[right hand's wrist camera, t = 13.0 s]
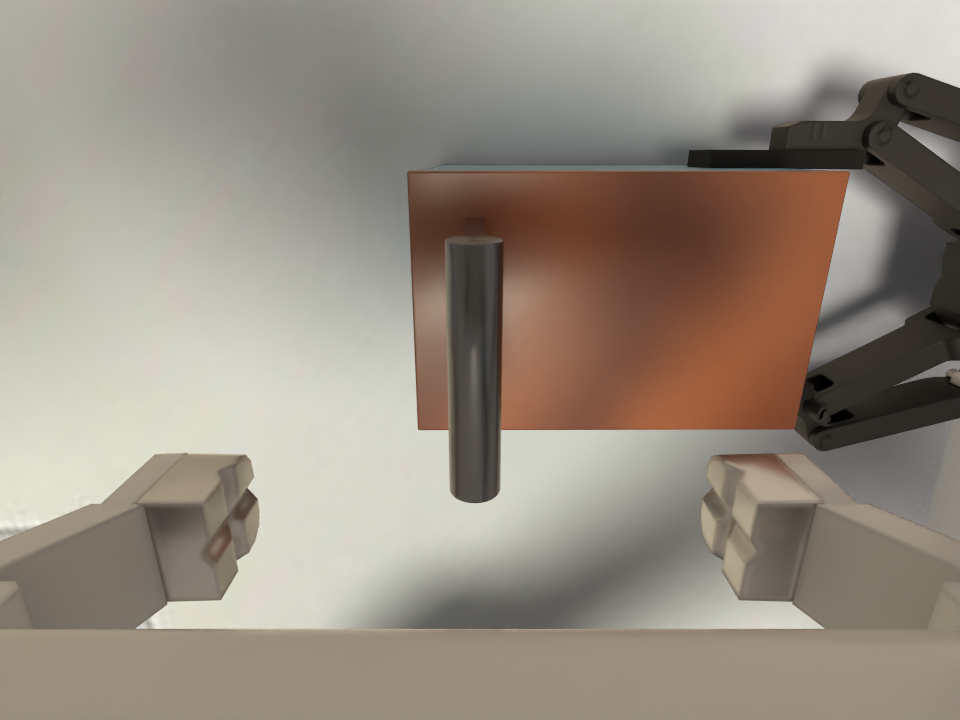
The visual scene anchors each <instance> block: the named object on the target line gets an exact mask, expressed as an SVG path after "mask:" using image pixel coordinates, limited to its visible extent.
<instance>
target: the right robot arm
mask: <svg viewBox="0 0 960 720" xmlns="http://www.w3.org/2000/svg"><path fill="white" fill-rule="evenodd" d="M253 478H254V474H253V469H252V464H251V460H250V459H249V458H248V457H247V456H246V455H238V454H188V453H168V454H156V455H154V456H153V457H152V458H151V459H150V460H148V461H147V462H146V463H145V464H144V465H143V466H142V467H141V468H140V469H139V470H138V471H136V472H135V473H134V474H133V475H132V476H131V477H130V478H129V479H128V480H127V481H125V482H124V483H123V484H122V485H121V486H120V487H119V488H118V489H117V490H116V491H114V492H113V493H112V494H111V495H110V496H109V497H108V498H107V499H106V500H105V501H104V502H102V503H101V504H90V505H88V506H85V507H83V508H80V509H78V510H76V511H73V512H71V513H68V514H66V515H63V516H61V517H59V518H56V519H54V520H51V521H49V522H46V523H44V524H41V525H39V526H37V527H34V528H32V529H29V530H27V531H24V532H22V533H20V534H17V535H15V536H12V537H10V538H7V539H5V540H2V541H0V720H960V541H957V540H955V539H952V538H950V537H948V536H945V535H943V534H940V533H938V532H935V531H933V530H930V529H928V528H926V527H923V526H921V525H918V524H916V523H914V522H911V521H909V520H906V519H904V518H901V517H899V516H897V515H894V514H892V513H889V512H887V511H884V510H882V509H880V508H877V507H875V506H872V505H870V504H859V503H858V502H857V501H855V500H854V499H853V498H852V497H851V496H850V495H849V494H848V493H847V492H846V491H845V490H843V489H842V488H841V487H840V486H839V485H838V484H837V483H836V482H835V481H834V480H832V479H831V478H830V477H829V476H828V475H827V474H826V473H825V472H824V471H823V470H822V469H820V468H819V467H818V466H817V465H816V464H815V463H814V462H813V461H812V460H811V459H810V458H808V457H807V456H806V455H803V454H800V453H783V454H737V455H715V456H712V457H711V459H710V461H709V464H708V468H707V474H706V478H707V479H708V481H709V483H710V484H711V486H712V487H713V488H712V489H711V491H710V492H709V493H708V494H707V495H706V496H705V497H704V498H703V499H702V507H701V515H700V516H701V526H702V533H703V536H704V539H705V542H706V544H707V546H708V548H709V549H710V551H711V553H713V554H714V555H716V556H717V557H719V558H721V559H722V560H724V561H723V567H722V572H723V574H724V575H725V577H726V579H727V580H728V582H729V584H730V586H731V587H732V589H733V591H734V592H735V594H736V596H737V597H738V599H739V600H752V601H788V602H793V605H795V606H796V607H797V608H799V609H800V610H801V611H803V612H804V613H805V614H806V615H808V616H809V617H810V618H812V619H813V620H814V621H816V622H817V623H818V624H820V625H821V626H822V627H824V628H825V629H135V628H136V627H138V626H139V625H140V624H142V623H143V622H144V621H146V620H147V619H148V618H150V617H151V616H152V615H154V614H155V613H156V612H158V611H159V610H160V609H162V608H163V607H164V606H166V605H167V602H172V601H207V600H221V599H222V598H223V596H224V594H225V592H226V591H227V589H228V587H229V586H230V584H231V582H232V581H233V579H234V577H235V575H236V574H237V572H238V567H237V561H236V560H238V559H239V558H241V557H243V556H244V555H246V554H247V553H249V551H250V549H251V548H252V546H253V544H254V542H255V539H256V535H257V531H258V527H259V505H258V499H257V498H256V497H255V496H254V495H253V494H252V493H251V492H250V491H249V489H248V488H247V487H248V486H249V484H250V483H251V481H252V479H253Z"/></svg>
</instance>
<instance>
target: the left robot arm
mask: <svg viewBox="0 0 960 720" xmlns="http://www.w3.org/2000/svg"><path fill="white" fill-rule="evenodd" d="M858 102H859V105H858V107H857V109H856V111H855V112H854V114H853V115H852V116H851V117H850V118H849V119H847V120H845V121H798V122H788V123H783V124H780V125H778V126H775V127H773V128H772V134H771V140H770V146H769V150H689V157H688V165H687V167H698V168H787V169H863V168H865V169H866V170H867V171H869V172H870V173H872V174H873V175H874V176H876V177H877V178H879V179H880V180H881V181H883V182H884V183H886V184H887V185H888V186H890V187H891V188H893V189H894V190H895V191H897V192H898V193H900V194H901V195H902V196H904V197H905V198H907V199H908V200H909V201H911V202H912V203H914V204H915V205H916V206H918V207H919V208H921V209H922V210H923V211H925V212H926V213H928V214H929V215H930V216H932V217H933V218H934V219H933V222H934V223H935V224H937V225H938V226H940V227H941V228H942V229H944V230H945V231H947V232H948V233H949V234H951V235H952V236H954V237H955V238H956V239H955V240H954V242H953V243H947V245H946V248H945V252H944V255H943V260H942V276H941V278H940V279H939V281H938V283H937V285H936V287H935V288H934V290H933V294H932V297H931V301H930V304H929V305H931V307H929V308H927V309H925V310H923V311H921V312H919V313H917V314H915V315H913V316H911V317H909V318H907V319H906V320H905V325H904V326H903V327H901V328H899V329H897V330H895V331H893V332H890V333H888V334H886V335H884V336H882V337H880V338H878V339H876V340H874V341H872V342H870V343H868V344H866V345H864V346H862V347H860V348H858V349H856V350H853V351H851V352H849V353H847V354H845V355H843V356H841V357H839V358H837V359H835V360H833V361H831V362H829V363H827V364H825V365H823V366H821V367H819V368H816V369H814V370H812V371H810V372H808V373H807V374H806V378H805V383H804V388H803V392H802V397H801V401H800V406H799V411H798V415H797V420H796V425H795V429H794V430H795V431H796V432H797V433H799V434H800V435H801V436H802V437H803V438H804V439H805V440H807V441H808V442H809V443H810V444H811V445H813V446H814V447H815V448H816V449H817V450H820V451H828V450H832V449H836V448H840V447H844V446H848V445H852V444H856V443H860V442H864V441H868V440H872V439H876V438H881V437H885V436H889V435H893V434H897V433H901V432H905V431H909V430H913V429H917V428H921V427H925V426H929V425H933V424H937V423H941V422H945V421H949V420H953V419H957V418H960V370H956V369H950V370H948V371H947V372H946V377H931V378H925V379H920V380H916V381H912V382H908V383H904V384H900V385H896V384H898V383H901V382H903V381H905V380H907V379H909V378H911V377H913V376H915V375H918V374H920V373H922V372H924V371H926V370H928V369H930V368H932V367H935V366H937V365H939V364H941V363H943V362H946V361H950V360H960V172H959V171H957V170H956V169H955V168H953V167H952V166H951V165H949V164H948V163H947V162H945V161H944V160H943V159H941V158H940V157H939V156H937V155H936V154H935V153H933V152H932V151H931V150H929V149H928V148H927V147H925V146H924V145H922V144H921V143H920V142H918V141H917V140H916V139H914V138H913V137H912V136H910V135H909V134H908V133H906V132H905V131H904V130H902V129H901V128H900V127H898V126H897V125H898V123H899V121H901V122H904V123H907V124H909V125H912V126H915V127H918V128H921V129H924V130H927V131H929V132H932V133H935V134H938V135H941V136H944V137H947V138H950V139H952V140H955V141H958V142H960V88H958V87H955V86H952V85H949V84H947V83H944V82H941V81H938V80H935V79H933V78H930V77H927V76H924V75H922V74H919V73H909V74H904V75H898V76H893V77H888V78H882V79H877V80H872V81H869V82H867V83H866V84H865V85H863V87H862V88H861V90H860V92H859V95H858ZM894 385H896V386H894Z"/></svg>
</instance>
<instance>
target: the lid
mask: <svg viewBox="0 0 960 720" xmlns="http://www.w3.org/2000/svg"><path fill="white" fill-rule="evenodd" d="M849 174H850V173H849V172H848V171H523V170H412V171H408V173H407V178H408V202H409V226H410V250H411V274H412V298H413V322H414V346H415V370H416V394H417V417H418V430H449V467H450V491H451V493H452V495H453V496H454V497H455V498H457V499H459V500H461V501H464V502H468V503H482V502H486V501H489V500H491V499H493V498H495V497H496V496H497V495H498V493H499V491H500V462H501V430H680V429H795V425H796V420H797V415H798V411H799V406H800V401H801V397H802V392H803V388H804V383H805V378H806V374H807V369H808V364H809V360H810V355H811V350H812V346H813V341H814V336H815V332H816V327H817V322H818V318H819V313H820V308H821V304H822V299H823V295H824V290H825V285H826V281H827V276H828V271H829V267H830V262H831V257H832V253H833V248H834V243H835V239H836V234H837V229H838V225H839V220H840V215H841V211H842V206H843V202H844V197H845V192H846V188H847V183H848V178H849Z"/></svg>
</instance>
